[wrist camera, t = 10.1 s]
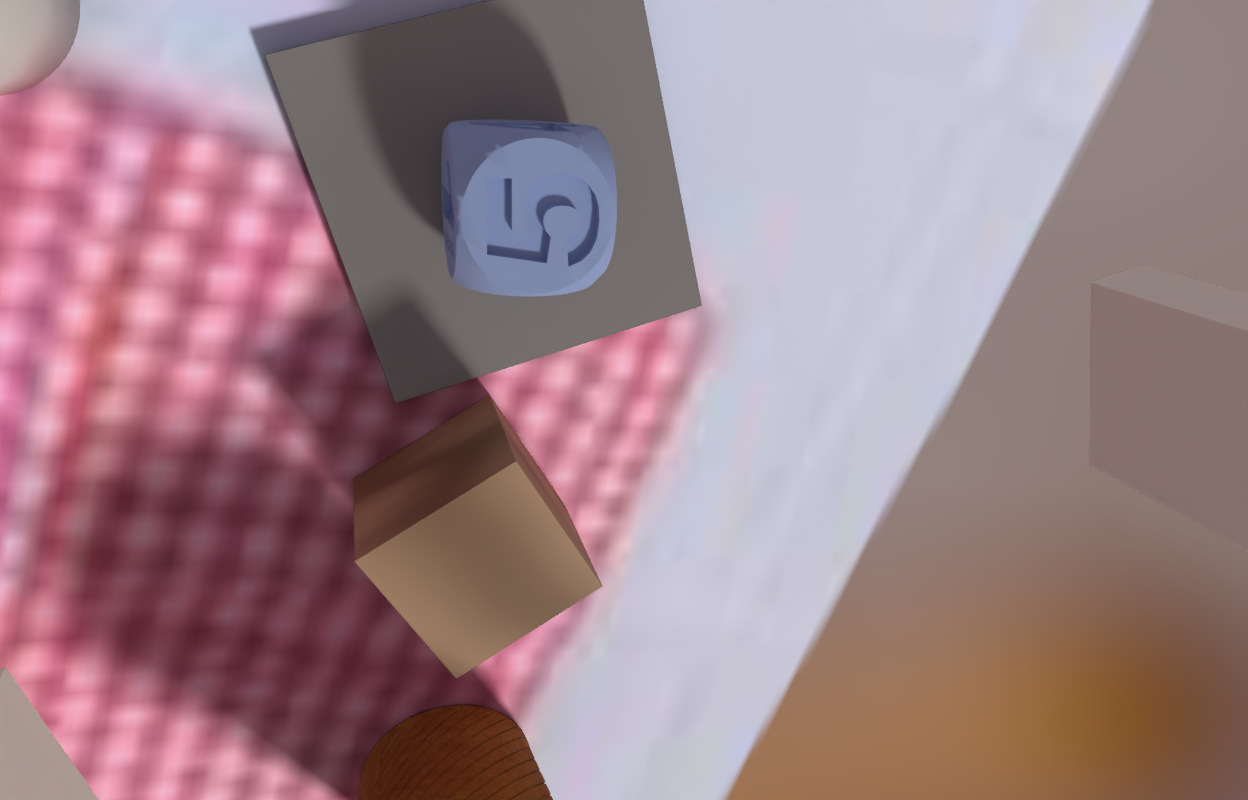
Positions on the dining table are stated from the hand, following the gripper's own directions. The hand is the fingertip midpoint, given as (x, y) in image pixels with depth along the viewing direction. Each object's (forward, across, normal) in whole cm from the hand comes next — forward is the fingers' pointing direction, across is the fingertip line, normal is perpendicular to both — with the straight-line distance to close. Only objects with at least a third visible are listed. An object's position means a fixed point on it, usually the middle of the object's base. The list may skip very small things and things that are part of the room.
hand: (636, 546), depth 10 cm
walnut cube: (+17, -2, -8) cm, 19 cm away
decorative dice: (+17, +2, +1) cm, 17 cm away
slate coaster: (+17, +2, +1) cm, 17 cm away
